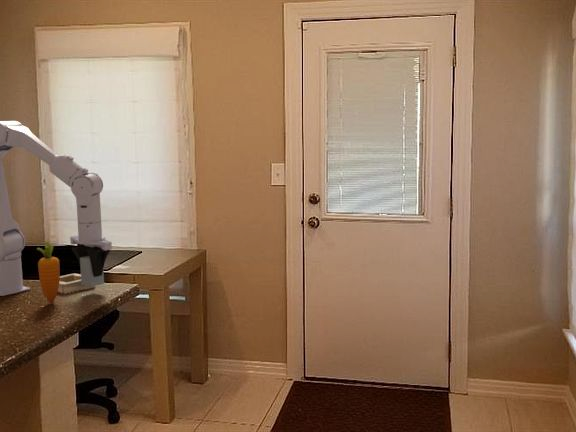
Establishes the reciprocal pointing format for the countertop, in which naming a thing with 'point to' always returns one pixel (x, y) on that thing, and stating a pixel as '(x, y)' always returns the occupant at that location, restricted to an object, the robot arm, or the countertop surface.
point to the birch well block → (71, 283)
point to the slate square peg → (89, 273)
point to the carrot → (49, 273)
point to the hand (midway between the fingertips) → (92, 274)
